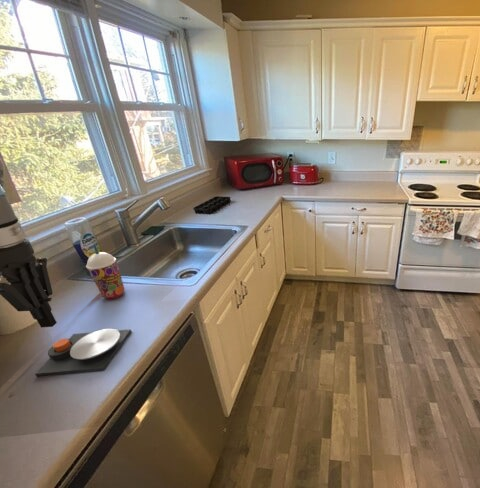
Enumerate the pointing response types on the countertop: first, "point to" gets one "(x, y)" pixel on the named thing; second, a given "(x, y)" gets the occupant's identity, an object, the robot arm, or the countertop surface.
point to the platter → (94, 344)
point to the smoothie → (105, 274)
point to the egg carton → (211, 205)
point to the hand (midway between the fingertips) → (49, 325)
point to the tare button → (61, 345)
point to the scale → (68, 365)
